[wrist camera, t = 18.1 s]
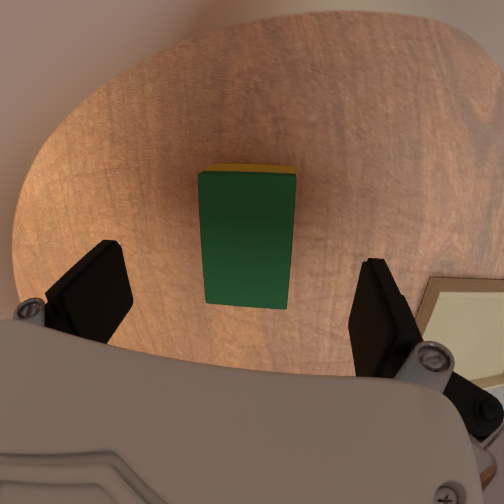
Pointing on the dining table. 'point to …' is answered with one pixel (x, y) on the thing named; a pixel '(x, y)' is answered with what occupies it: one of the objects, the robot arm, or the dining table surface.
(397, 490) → the robot arm
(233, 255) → the sponge
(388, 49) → the dining table surface
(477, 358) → the tray
